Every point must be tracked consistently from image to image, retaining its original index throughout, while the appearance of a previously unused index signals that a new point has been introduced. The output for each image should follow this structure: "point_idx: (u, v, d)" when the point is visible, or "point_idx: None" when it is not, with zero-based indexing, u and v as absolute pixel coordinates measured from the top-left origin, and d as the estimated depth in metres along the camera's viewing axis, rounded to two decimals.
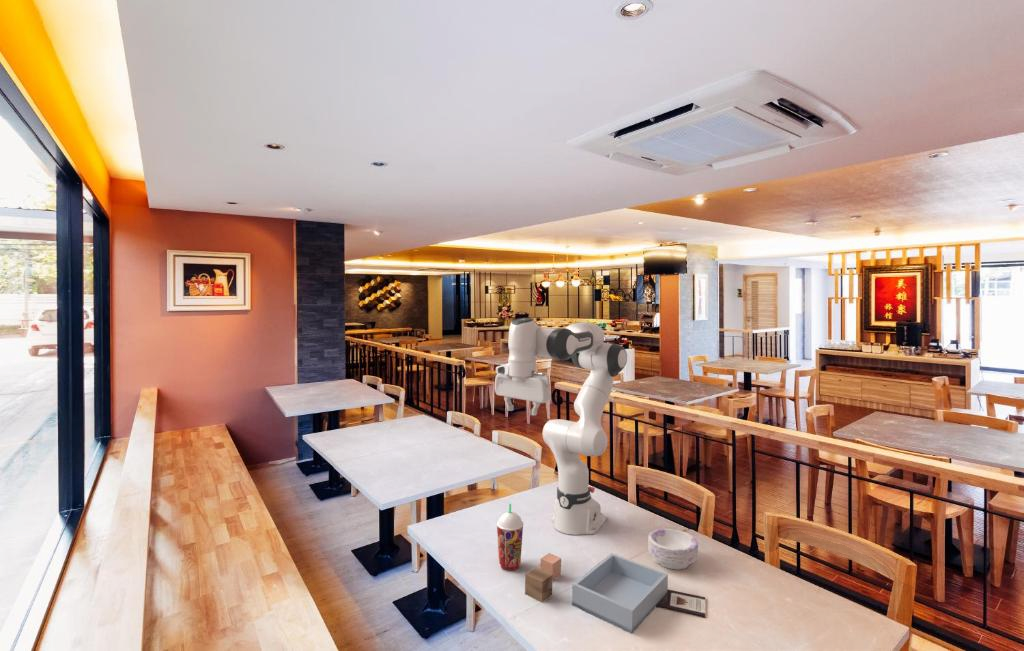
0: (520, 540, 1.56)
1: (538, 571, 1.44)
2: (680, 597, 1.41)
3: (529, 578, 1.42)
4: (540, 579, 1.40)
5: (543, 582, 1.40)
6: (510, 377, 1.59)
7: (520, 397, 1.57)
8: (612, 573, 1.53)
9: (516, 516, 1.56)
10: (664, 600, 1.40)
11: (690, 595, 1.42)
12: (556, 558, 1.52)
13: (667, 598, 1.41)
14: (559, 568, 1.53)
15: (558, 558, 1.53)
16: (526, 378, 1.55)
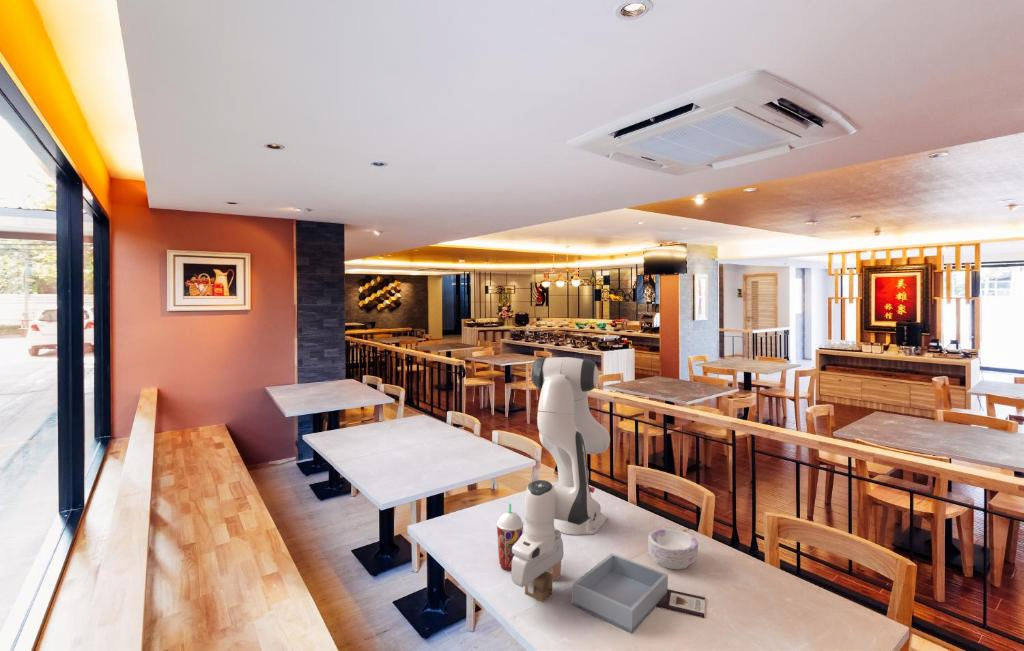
0: None
1: None
2: (680, 597, 1.42)
3: None
4: (540, 579, 1.40)
5: (543, 582, 1.40)
6: None
7: (546, 569, 1.42)
8: (612, 573, 1.53)
9: (516, 516, 1.56)
10: (663, 600, 1.40)
11: (690, 595, 1.42)
12: None
13: (667, 598, 1.41)
14: (559, 568, 1.53)
15: None
16: None
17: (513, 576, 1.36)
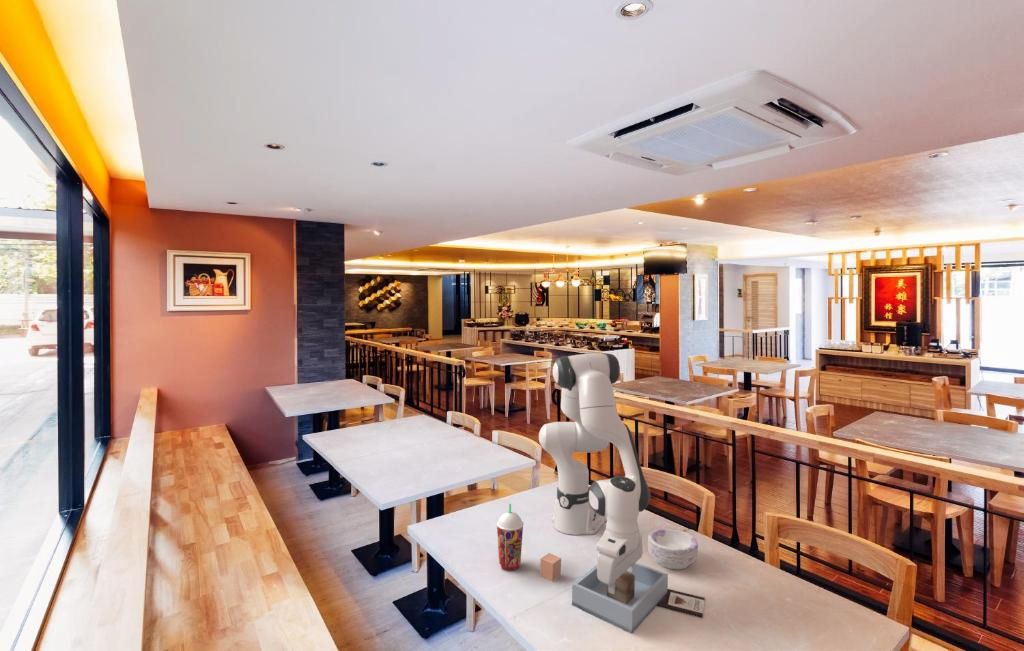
0: (520, 540, 1.56)
1: None
2: (679, 597, 1.42)
3: None
4: (624, 580, 1.38)
5: (627, 583, 1.37)
6: None
7: (628, 567, 1.40)
8: None
9: (516, 516, 1.56)
10: (662, 599, 1.40)
11: (689, 595, 1.42)
12: (556, 558, 1.52)
13: (666, 597, 1.41)
14: (559, 568, 1.53)
15: (558, 558, 1.53)
16: None
17: (599, 574, 1.33)
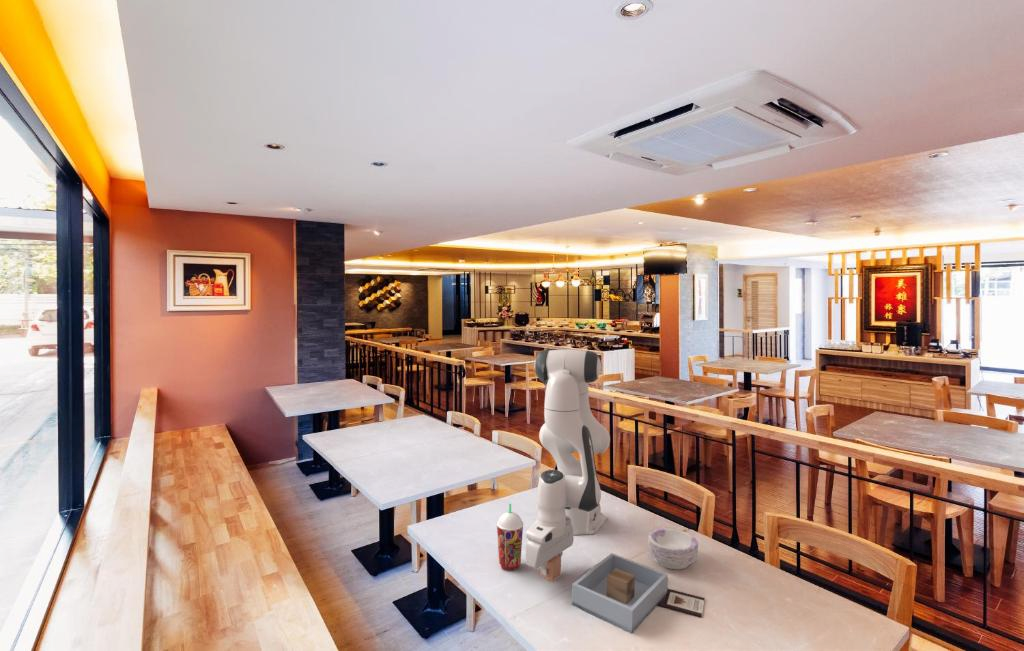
0: (520, 540, 1.56)
1: (620, 572, 1.42)
2: (679, 596, 1.42)
3: (612, 579, 1.40)
4: (624, 580, 1.38)
5: (627, 583, 1.37)
6: None
7: (557, 553, 1.52)
8: None
9: (516, 516, 1.56)
10: (662, 599, 1.41)
11: (689, 595, 1.42)
12: (556, 558, 1.52)
13: (665, 597, 1.42)
14: (559, 568, 1.53)
15: (558, 558, 1.53)
16: None
17: (527, 559, 1.45)
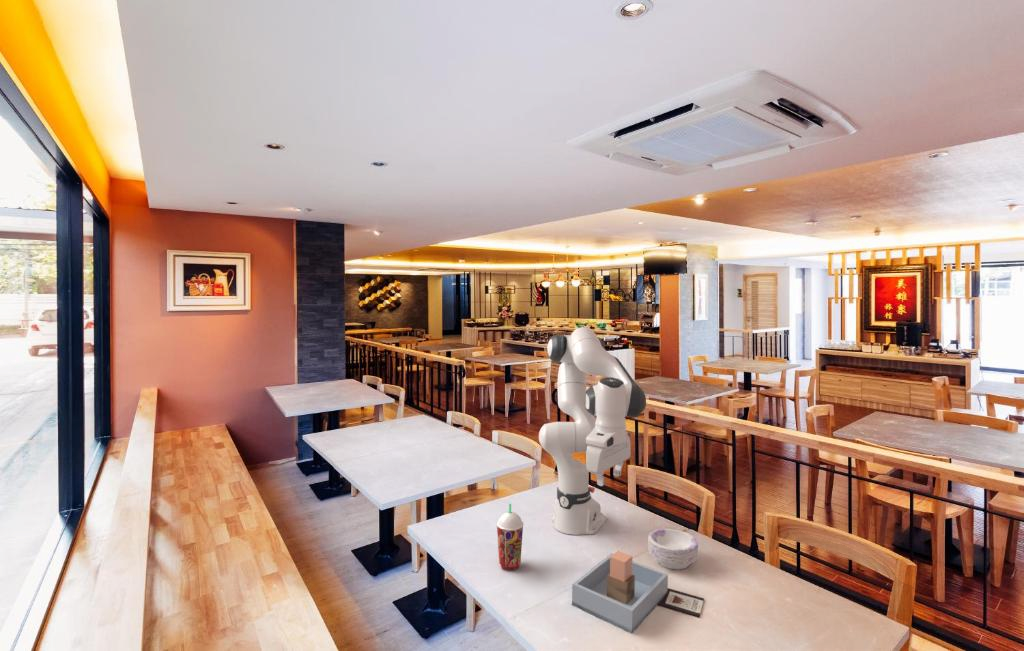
0: (520, 540, 1.56)
1: None
2: (678, 596, 1.42)
3: (612, 579, 1.40)
4: None
5: (627, 583, 1.37)
6: None
7: (616, 463, 1.47)
8: None
9: (516, 516, 1.56)
10: None
11: (689, 595, 1.42)
12: (627, 556, 1.40)
13: (664, 596, 1.42)
14: (631, 567, 1.40)
15: (629, 556, 1.40)
16: None
17: (588, 464, 1.40)
